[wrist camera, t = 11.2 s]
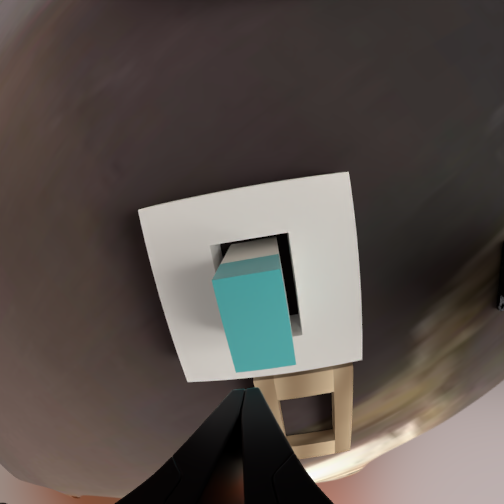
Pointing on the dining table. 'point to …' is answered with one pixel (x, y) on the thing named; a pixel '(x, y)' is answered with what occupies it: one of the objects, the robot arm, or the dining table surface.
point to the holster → (311, 384)
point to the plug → (254, 306)
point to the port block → (302, 260)
